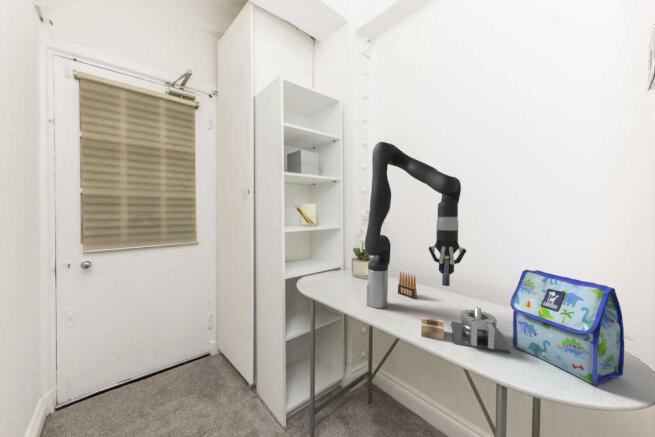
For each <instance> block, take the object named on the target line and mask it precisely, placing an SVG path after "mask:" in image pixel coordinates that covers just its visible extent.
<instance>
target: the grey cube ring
mask: <svg viewBox="0 0 655 437" xmlns="http://www.w3.org/2000/svg"><path fill="white" fill-rule="evenodd" d="M459 316H460V317H459V319H460V323H462V322H463V324H465V325H467V326H469V327H470V337H469V340H470V343H471V345H473V346H477V329H481V330H486V344H487V347H488V348H490V349H494V331H495V329H496V328H497V326H498V325H497V323H498V322H497V318H496V317H495V316H494V315H492V314H491V313H489V312H485V311H481V319H475V308H473V309H464V310H461V311H460V314H459Z"/></svg>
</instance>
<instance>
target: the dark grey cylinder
mask: <svg viewBox="0 0 655 437" xmlns="http://www.w3.org/2000/svg"><path fill="white" fill-rule="evenodd" d="M441 275H442V280H441V285H442V286H445V287H450V284H451V283H450V282H451V281H450V280H451V274H450V255H444V258H443V273H441Z"/></svg>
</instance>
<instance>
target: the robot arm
mask: <svg viewBox="0 0 655 437" xmlns="http://www.w3.org/2000/svg"><path fill="white" fill-rule="evenodd" d="M371 161H372V163H371V164H372V176H371V177H372V180H371V192H370V201H369V213H368V214H369V215H368V223H367V227H366V228H367V229H366V232H365V233H366V234H365V238H364V239H365V240H364V248H365V252H366V253H367V255H369V256H371V257H372V259H371V260H370V261H369V262H368V263H367V264H368V265H367V285H366V306H369V307H370V308H374V309H385V308H387V307H388V293H389V292H388V291H389V290H388V288H389V287H388V285H389V283H388V281H389V280H388V279H389V277H388V276H389V274H388V273H389V265H390V261H391V241H390V239H389V237H388V236H386V235H385V234H381V233H382V232H381V231H382V227H383V224H384V222H385V219H386V218H387V216H388V214H389V212H390V209H391V203H392V189H391V186H390V183H389V178H388V167H389V166H393V167H396V168H399V169H401V170H403V171H404V172H405V173H407V174H408V175H409V176H411V177H412V178H414V179H416V180H417V181H418V182H421V183H422V184H425V185H427V186H428V188H429V187H430V188H431V189H432V190H434V191H435V192H437V193H439V194H441V199H440V200H441V201H440V202H438V204H437V220H436V233H435V234H436V235H435V236H436V241H435V243H434V245H432V246H428V251H429V253H430V255H431V257H432V259H433V260H434V262H435V263H438V271H439V273H440V274H442V273H443V258H444V255H450V275H453V274H454V272H455V265H456V264H460V263H461V261H462V259H463V258H464V257H465V254H466V253H467V249H466V248H464V247H462V246H460V244H459V216H458V215H459V202H460V198H461V192H462V183H461V181H460V179H458V178H457V177H455V176H451V175H448V174H445V173H443V172H441V171H439V170H438V169H437V168H435V167H433V166H431V165H429V164H427V163H425V162H423V161H420V160H418V159H416V158H414V157H411V156H410V155H408V154H406V153H405V152H404V151H403V150H401V149H400V148H399V147H397V146H396V145H395V144H393V143H389V142H385V141H379V142H377V144H375V145H374V146H373V150H372V158H371ZM436 250H437V251H438V253H439V258H438V257H437V256H436V253H435V251H436ZM457 251H458V252H459V254H458V255H457V257H456V259H455V257H454V255H455V253H456V252H457Z"/></svg>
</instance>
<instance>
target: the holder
mask: <svg viewBox="0 0 655 437" xmlns="http://www.w3.org/2000/svg"><path fill="white" fill-rule="evenodd" d="M420 325H421V331H420V332H421V333H420V334H421V335H420V336H421V337H423V338H429V339H435V340H441V341H444V340H445V339H444V338H445V326H444V320H443V319H437V318H429V317H422V316H421V324H420Z"/></svg>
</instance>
